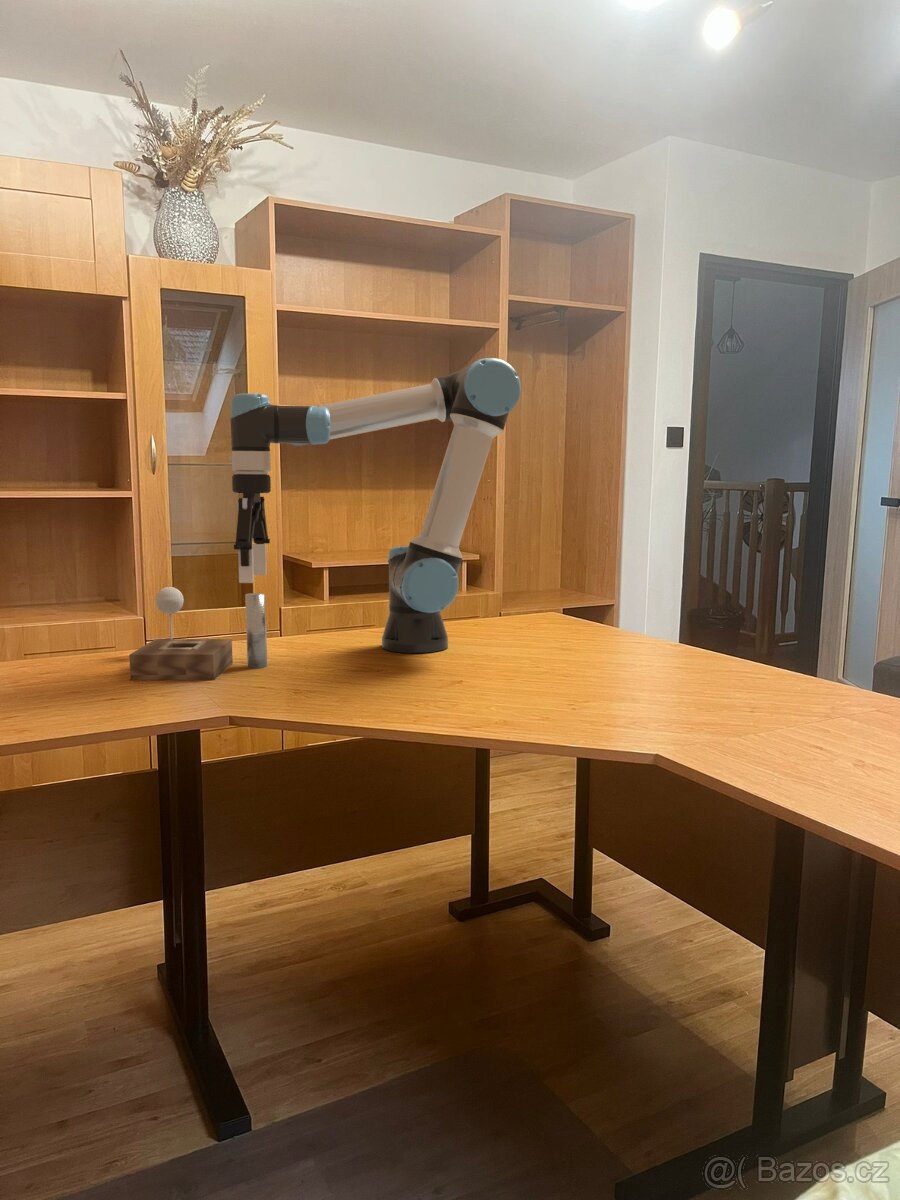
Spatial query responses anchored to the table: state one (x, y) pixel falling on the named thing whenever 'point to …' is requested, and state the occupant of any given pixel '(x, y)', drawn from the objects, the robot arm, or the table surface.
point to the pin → (256, 630)
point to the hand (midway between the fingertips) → (253, 578)
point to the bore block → (181, 659)
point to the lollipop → (169, 602)
